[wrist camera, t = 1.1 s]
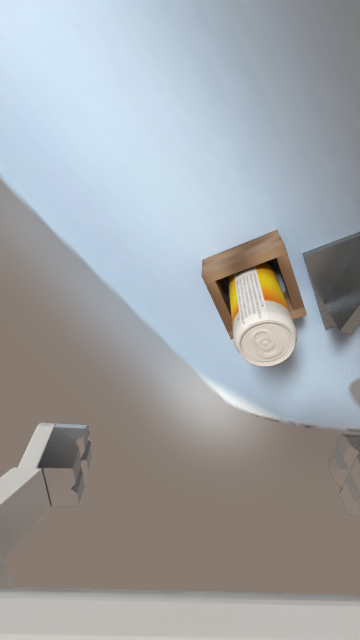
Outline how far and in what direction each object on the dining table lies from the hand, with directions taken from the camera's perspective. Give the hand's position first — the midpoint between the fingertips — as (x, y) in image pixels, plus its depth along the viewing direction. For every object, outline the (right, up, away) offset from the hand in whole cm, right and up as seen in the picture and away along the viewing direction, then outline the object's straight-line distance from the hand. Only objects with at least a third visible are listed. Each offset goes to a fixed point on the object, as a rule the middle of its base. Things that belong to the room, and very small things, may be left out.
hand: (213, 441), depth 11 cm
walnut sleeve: (+8, +10, +34) cm, 36 cm away
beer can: (+8, +10, +34) cm, 36 cm away
